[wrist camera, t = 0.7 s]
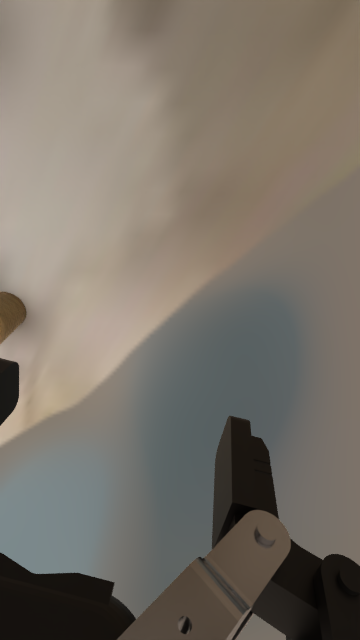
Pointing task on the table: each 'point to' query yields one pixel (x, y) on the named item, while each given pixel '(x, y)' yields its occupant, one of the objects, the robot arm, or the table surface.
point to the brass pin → (10, 314)
